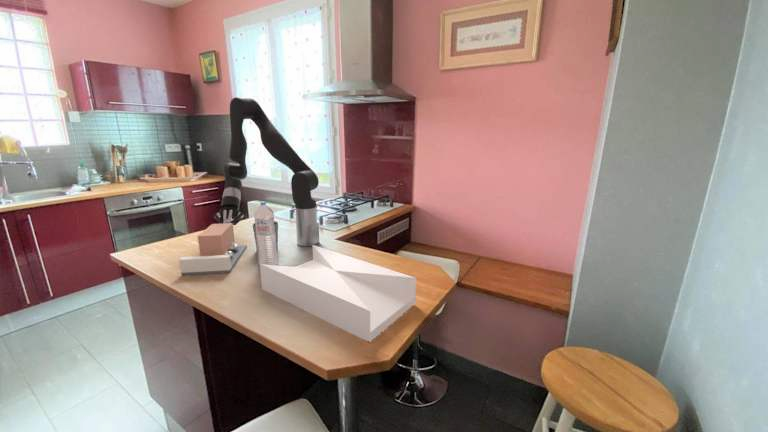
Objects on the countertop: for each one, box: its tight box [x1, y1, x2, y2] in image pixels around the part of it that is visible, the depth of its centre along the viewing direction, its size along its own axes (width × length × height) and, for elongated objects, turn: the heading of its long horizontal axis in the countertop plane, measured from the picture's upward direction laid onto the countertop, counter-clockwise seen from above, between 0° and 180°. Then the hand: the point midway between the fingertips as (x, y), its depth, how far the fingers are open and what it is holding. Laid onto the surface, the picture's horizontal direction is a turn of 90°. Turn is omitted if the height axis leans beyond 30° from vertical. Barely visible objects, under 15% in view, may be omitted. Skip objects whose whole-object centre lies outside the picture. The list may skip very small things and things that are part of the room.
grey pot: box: [252, 220, 279, 251], centre depth 135 cm, size 10×10×12 cm
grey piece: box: [178, 244, 248, 276], centre depth 124 cm, size 26×16×6 cm, turn 10°
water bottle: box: [253, 201, 278, 268], centre depth 118 cm, size 7×7×25 cm
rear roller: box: [227, 243, 239, 251], centre depth 131 cm, size 13×3×3 cm, turn 100°
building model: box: [259, 244, 417, 343], centre depth 98 cm, size 45×22×10 cm, turn 54°
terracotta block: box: [197, 223, 236, 256], centre depth 126 cm, size 16×8×8 cm, turn 10°
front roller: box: [197, 251, 234, 258], centre depth 123 cm, size 13×3×3 cm, turn 100°
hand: (226, 233), depth 137 cm, fingers closed
